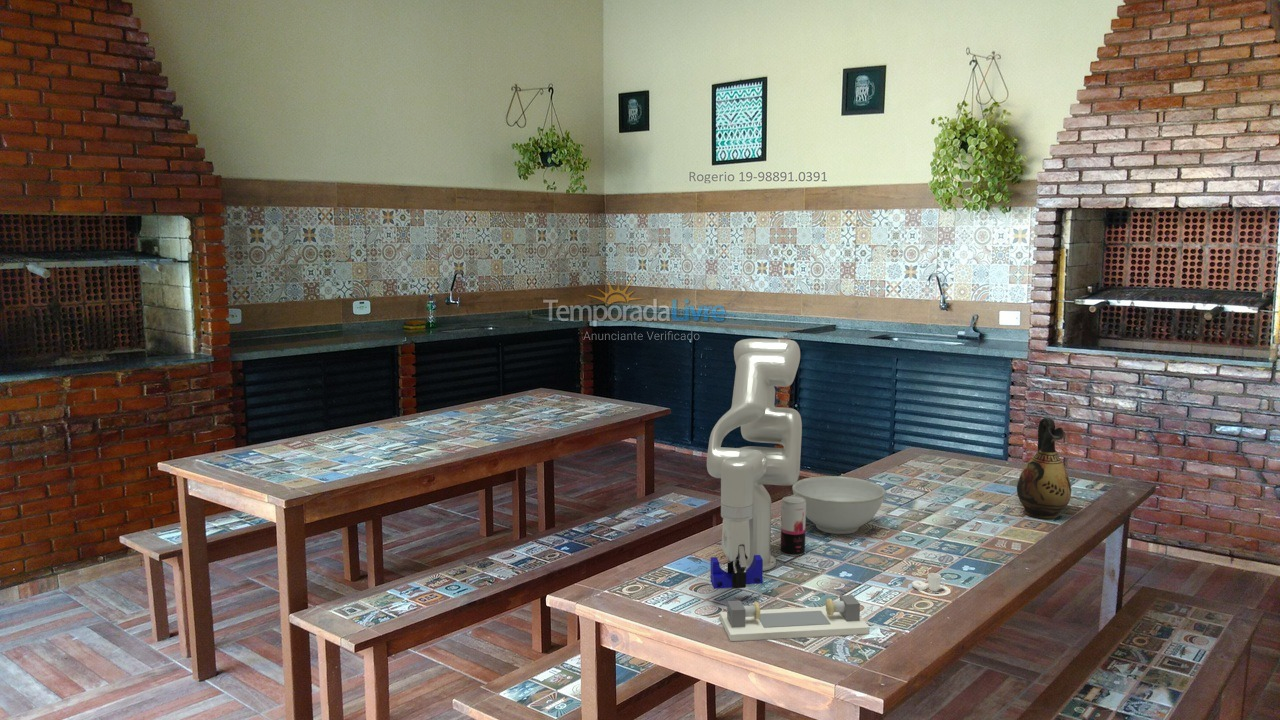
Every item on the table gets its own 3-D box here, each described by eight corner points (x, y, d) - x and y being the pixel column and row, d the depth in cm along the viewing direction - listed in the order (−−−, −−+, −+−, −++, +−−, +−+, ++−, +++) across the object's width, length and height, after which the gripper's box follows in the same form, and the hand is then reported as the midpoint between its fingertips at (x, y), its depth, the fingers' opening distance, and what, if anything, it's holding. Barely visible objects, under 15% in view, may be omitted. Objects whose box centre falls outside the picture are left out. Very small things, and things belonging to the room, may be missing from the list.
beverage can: (804, 557, 252) (805, 503, 249) (779, 555, 253) (780, 502, 251) (805, 549, 258) (806, 496, 256) (781, 547, 259) (782, 495, 257)
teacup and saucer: (907, 590, 230) (908, 574, 229) (923, 581, 235) (924, 566, 235) (940, 600, 224) (941, 584, 223) (956, 591, 229) (957, 575, 229)
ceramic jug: (1078, 522, 280) (1085, 425, 276) (1026, 522, 281) (1032, 425, 276) (1054, 505, 297) (1060, 413, 293) (1006, 505, 297) (1011, 413, 293)
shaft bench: (719, 618, 213) (719, 594, 212) (850, 611, 216) (851, 587, 216) (730, 641, 201) (730, 615, 200) (869, 633, 205) (870, 608, 204)
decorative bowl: (876, 515, 288) (877, 477, 286) (890, 544, 262) (892, 502, 260) (788, 512, 291) (789, 474, 289) (794, 541, 264) (795, 500, 263)
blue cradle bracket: (713, 588, 219) (713, 564, 218) (710, 580, 223) (710, 557, 222) (763, 586, 220) (764, 562, 219) (759, 578, 225) (759, 554, 223)
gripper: (714, 498, 226) (714, 569, 230) (728, 523, 210) (728, 599, 213) (744, 497, 227) (744, 567, 230) (761, 521, 211) (760, 597, 214)
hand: (736, 582), depth 222 cm, fingers closed on blue cradle bracket, 4 cm apart
